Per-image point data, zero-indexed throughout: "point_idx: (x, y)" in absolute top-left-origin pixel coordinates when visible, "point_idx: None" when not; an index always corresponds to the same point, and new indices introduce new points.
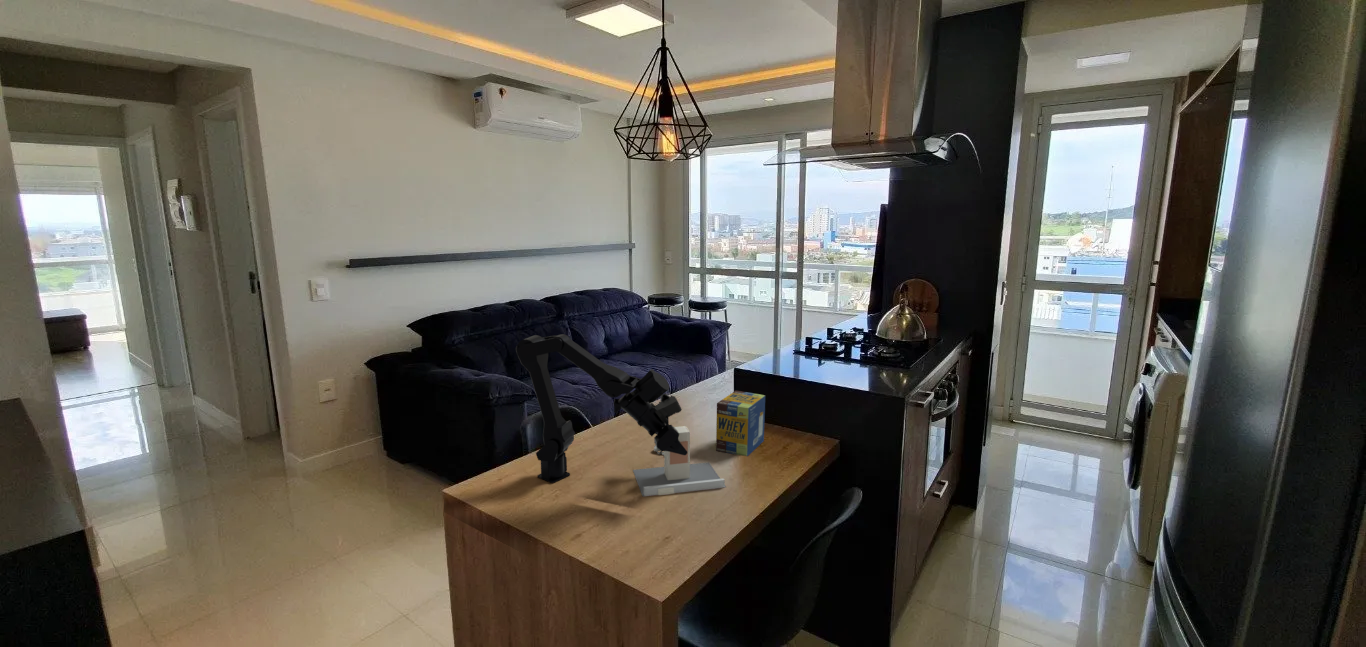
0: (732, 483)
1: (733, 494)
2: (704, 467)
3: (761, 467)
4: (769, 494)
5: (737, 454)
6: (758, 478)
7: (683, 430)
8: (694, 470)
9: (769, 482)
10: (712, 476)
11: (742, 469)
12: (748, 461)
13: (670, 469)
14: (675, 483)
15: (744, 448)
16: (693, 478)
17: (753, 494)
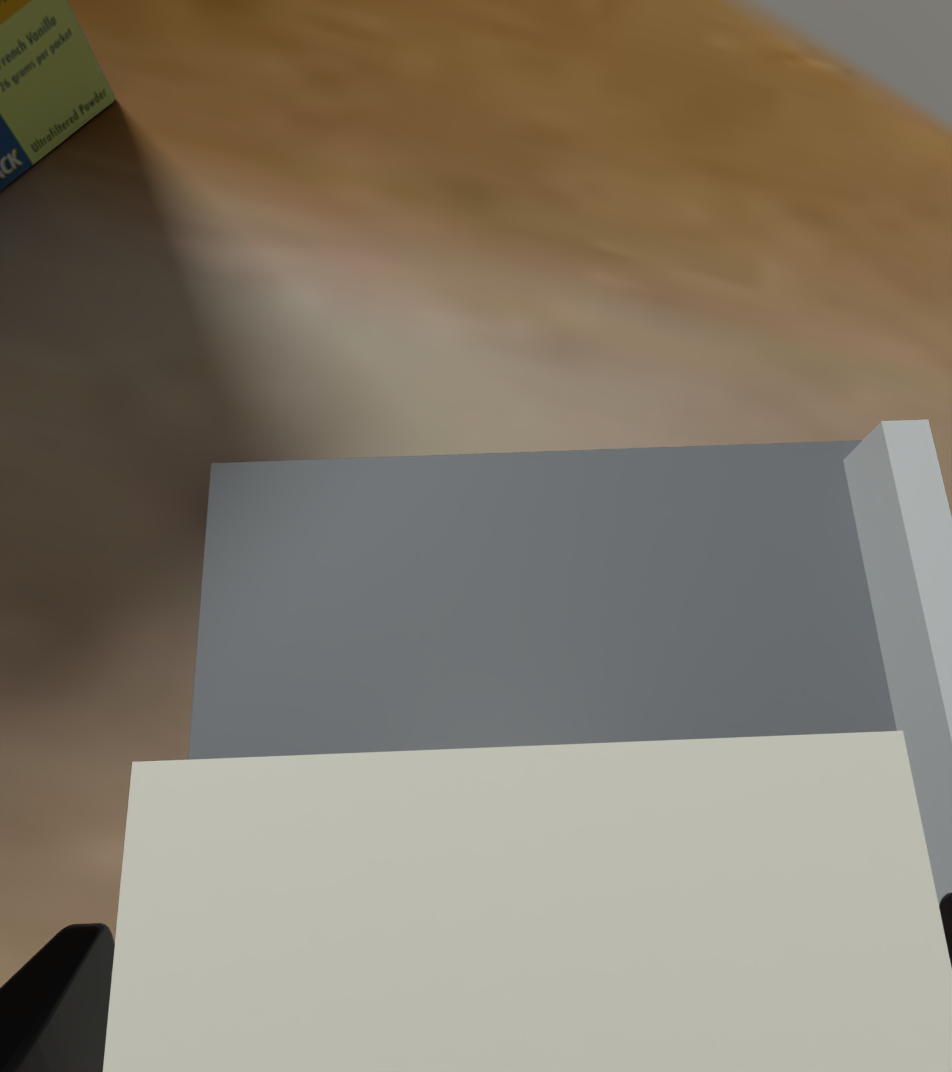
0: (657, 360)
1: (894, 411)
2: (338, 546)
3: (371, 53)
4: (905, 139)
5: (39, 153)
6: (587, 132)
7: (696, 1016)
8: (394, 686)
9: (678, 78)
10: (600, 516)
11: (370, 202)
12: (213, 112)
13: None
14: None
15: (58, 39)
16: None
17: (900, 251)
